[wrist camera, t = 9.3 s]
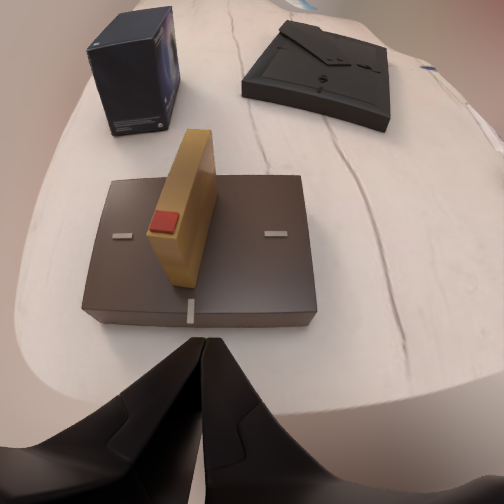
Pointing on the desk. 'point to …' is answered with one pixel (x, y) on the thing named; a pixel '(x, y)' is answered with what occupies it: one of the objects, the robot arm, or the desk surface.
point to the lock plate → (207, 259)
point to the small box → (137, 70)
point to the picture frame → (323, 75)
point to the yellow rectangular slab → (185, 209)
